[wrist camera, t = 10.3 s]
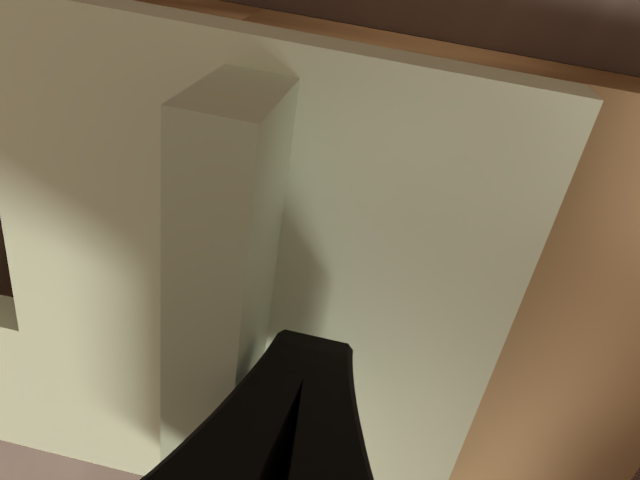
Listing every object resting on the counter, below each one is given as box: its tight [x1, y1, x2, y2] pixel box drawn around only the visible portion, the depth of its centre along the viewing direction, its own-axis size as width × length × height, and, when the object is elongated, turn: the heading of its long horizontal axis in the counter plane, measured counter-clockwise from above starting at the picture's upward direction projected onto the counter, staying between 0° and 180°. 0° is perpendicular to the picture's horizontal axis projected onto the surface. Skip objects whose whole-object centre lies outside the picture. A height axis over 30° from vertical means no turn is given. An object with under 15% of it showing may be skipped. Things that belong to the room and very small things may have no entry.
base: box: [135, 0, 640, 480], centre depth 12 cm, size 14×11×2 cm
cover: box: [0, 0, 604, 480], centre depth 11 cm, size 14×11×3 cm
